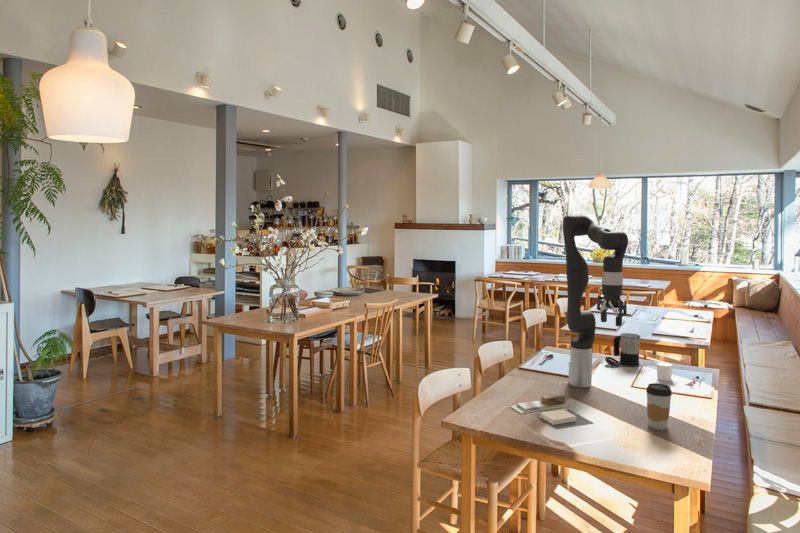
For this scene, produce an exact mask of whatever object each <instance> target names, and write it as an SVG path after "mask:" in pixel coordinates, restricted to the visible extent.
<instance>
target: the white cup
mask: <svg viewBox="0 0 800 533" xmlns="http://www.w3.org/2000/svg"><path fill="white" fill-rule="evenodd" d="M673 368H674V364H672V363H670V362H664V361H659V362H656V378H657V380H659V379H660V381H664V380H665V381H667V382H669V381H672V375H673ZM665 381H664V382H665Z"/></svg>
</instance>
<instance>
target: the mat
mask: <svg viewBox="0 0 800 533" xmlns="http://www.w3.org/2000/svg"><path fill="white" fill-rule="evenodd" d="M565 410H566V411H568V412H569V413H571V414H573V415H575V416H576V421H575V422H570V423H563V424H557V425H552V424H550V423H549V422H547V421H546V420H544V419H542V418H541V413H536V414H533V415H534V416H535V417H536V418H538V419H539V420H540V421H541V422H542V421H543V422H544V423H546V424H547V425H549V426H550V427H552V428H554V429H555V430H563V429H566V428H574V427H580V426H581V427H582V426H587V425H591V424H594V422H592V421H591V420H589V419H587V418H585V417H583V416H582V415H580V414H578V413H576V412H575V411H572V410H571V409H565Z"/></svg>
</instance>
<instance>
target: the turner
mask: <svg viewBox="0 0 800 533" xmlns="http://www.w3.org/2000/svg"><path fill="white" fill-rule="evenodd" d="M540 400H541V401H540ZM540 400H534V401H533V400H532V401H528V402H527V401H526V402H518V403H516V405H517V406H518V407H519V408H521V409H522V410H524V411H530V410H537V409H544V408H547V406H552V405H559V404H564V403H565V400H566V399H565V395H564V394H562V393H559V394H557V393H556V394H550V395H549V394H548V395H545V396H544V395H543V396H542V395H541V399H540Z"/></svg>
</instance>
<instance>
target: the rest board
mask: <svg viewBox="0 0 800 533" xmlns="http://www.w3.org/2000/svg"><path fill="white" fill-rule="evenodd" d="M509 408H510V409H512V410H514V411H516V412H517V413H519V414H520V415H523V414H530V413H536V412H538V413H539V412H546V411H553V410H560V409H566V408H570V404H567V403H564V404H559V405H552V406H547V408H544V409H537V410H530V411H524V410H522V409H521V408H519V407H518V406H517V404H514V405H510V406H509Z"/></svg>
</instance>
